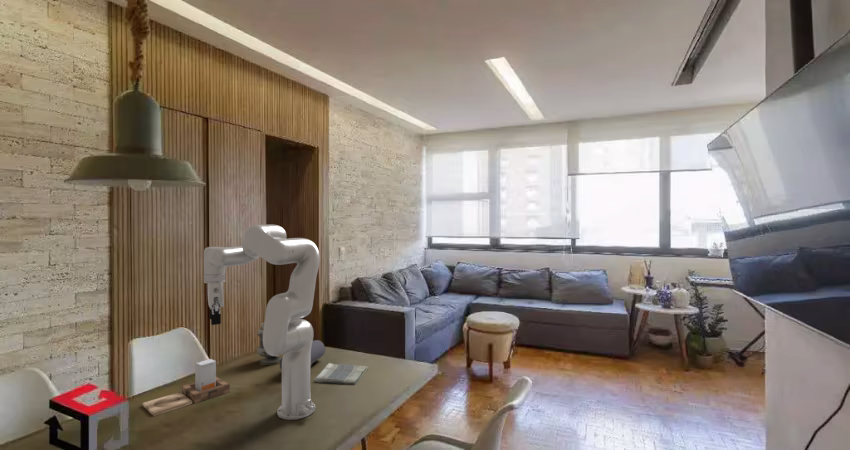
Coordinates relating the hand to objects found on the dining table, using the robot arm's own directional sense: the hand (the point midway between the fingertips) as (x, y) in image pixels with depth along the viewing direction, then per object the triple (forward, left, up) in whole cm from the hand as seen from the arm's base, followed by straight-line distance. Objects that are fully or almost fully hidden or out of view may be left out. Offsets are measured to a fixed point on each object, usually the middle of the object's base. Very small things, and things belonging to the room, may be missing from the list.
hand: (214, 321), depth 160 cm
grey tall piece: (+11, -30, -27) cm, 41 cm away
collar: (-2, +4, -26) cm, 27 cm away
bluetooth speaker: (-8, -35, -27) cm, 44 cm away
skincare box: (-2, +4, -27) cm, 27 cm away
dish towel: (-28, -41, -27) cm, 56 cm away
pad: (-2, +17, -26) cm, 32 cm away
